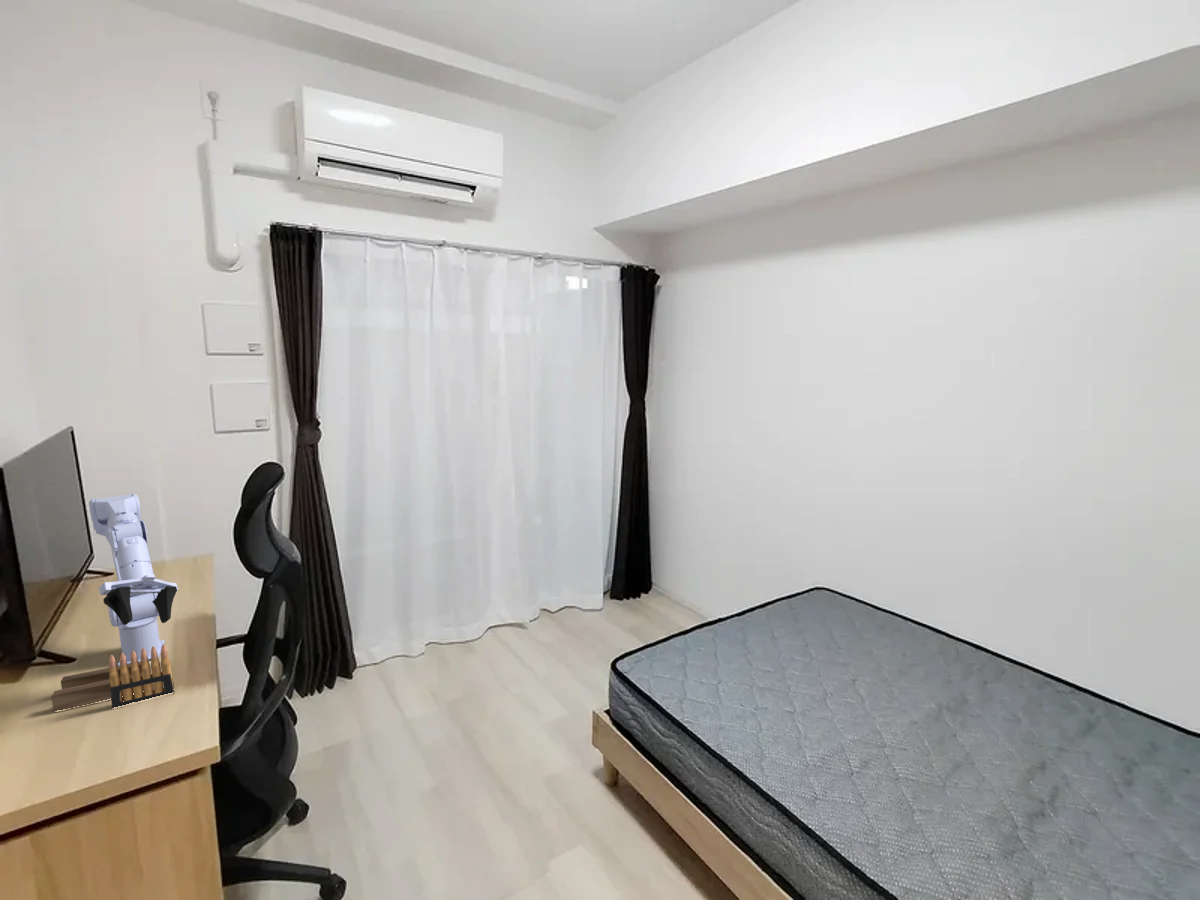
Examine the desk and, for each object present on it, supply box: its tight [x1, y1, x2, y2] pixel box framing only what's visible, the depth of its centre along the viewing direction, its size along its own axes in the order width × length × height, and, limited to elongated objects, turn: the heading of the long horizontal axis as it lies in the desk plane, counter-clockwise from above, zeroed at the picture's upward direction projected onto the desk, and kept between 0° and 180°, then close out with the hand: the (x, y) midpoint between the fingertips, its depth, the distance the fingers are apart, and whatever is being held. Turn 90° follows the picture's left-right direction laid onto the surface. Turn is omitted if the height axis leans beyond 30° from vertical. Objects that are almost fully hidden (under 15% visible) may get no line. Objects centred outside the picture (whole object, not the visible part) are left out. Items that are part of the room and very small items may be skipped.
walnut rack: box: [51, 660, 150, 712], centre depth 127 cm, size 8×15×4 cm, turn 120°
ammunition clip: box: [108, 643, 175, 709], centre depth 124 cm, size 11×2×12 cm, turn 122°
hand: (147, 621), depth 123 cm, fingers open, 7 cm apart
